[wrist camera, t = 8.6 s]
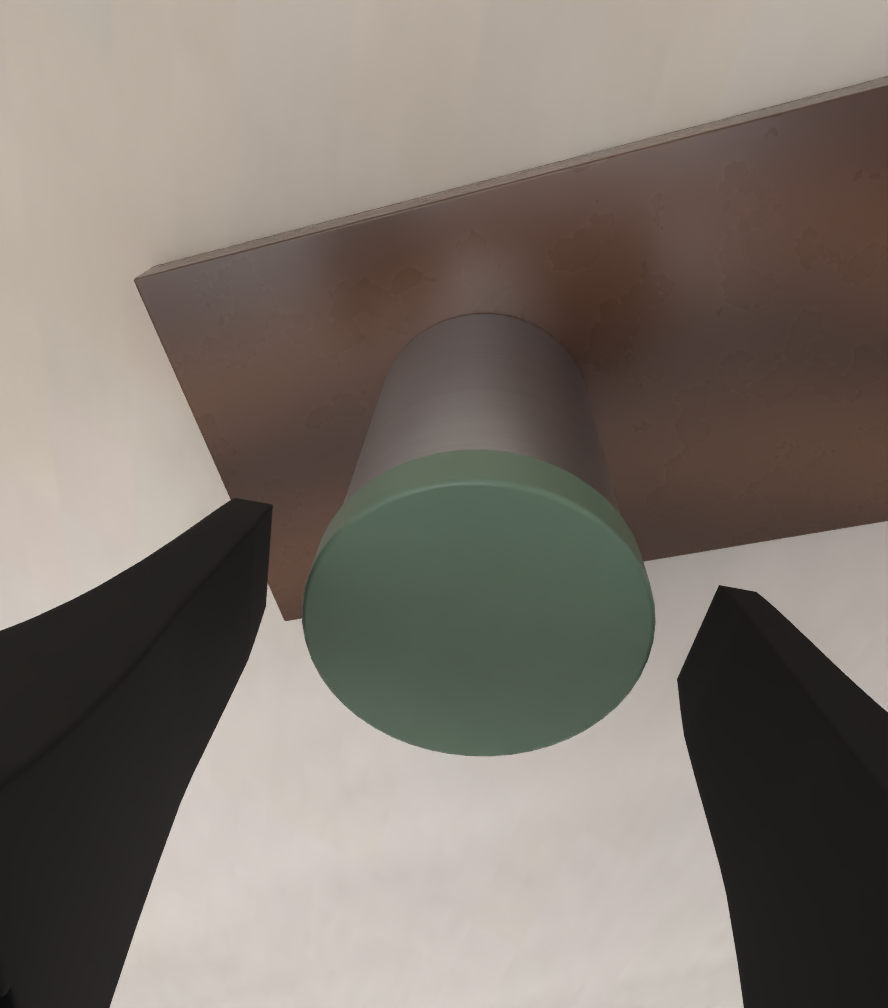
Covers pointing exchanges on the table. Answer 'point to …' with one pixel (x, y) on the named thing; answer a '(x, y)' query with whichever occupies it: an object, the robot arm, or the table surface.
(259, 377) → the board
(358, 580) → the tin
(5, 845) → the robot arm
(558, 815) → the table surface
